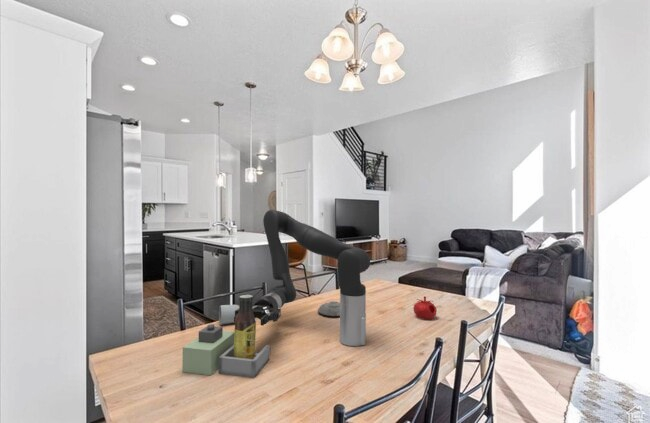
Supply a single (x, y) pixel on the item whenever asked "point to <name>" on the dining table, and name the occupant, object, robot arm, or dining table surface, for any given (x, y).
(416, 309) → the red round fruit
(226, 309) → the white cylinder
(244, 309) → the sauce bottle
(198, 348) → the knobbed green block
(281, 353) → the dining table surface
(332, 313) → the flying saucer
